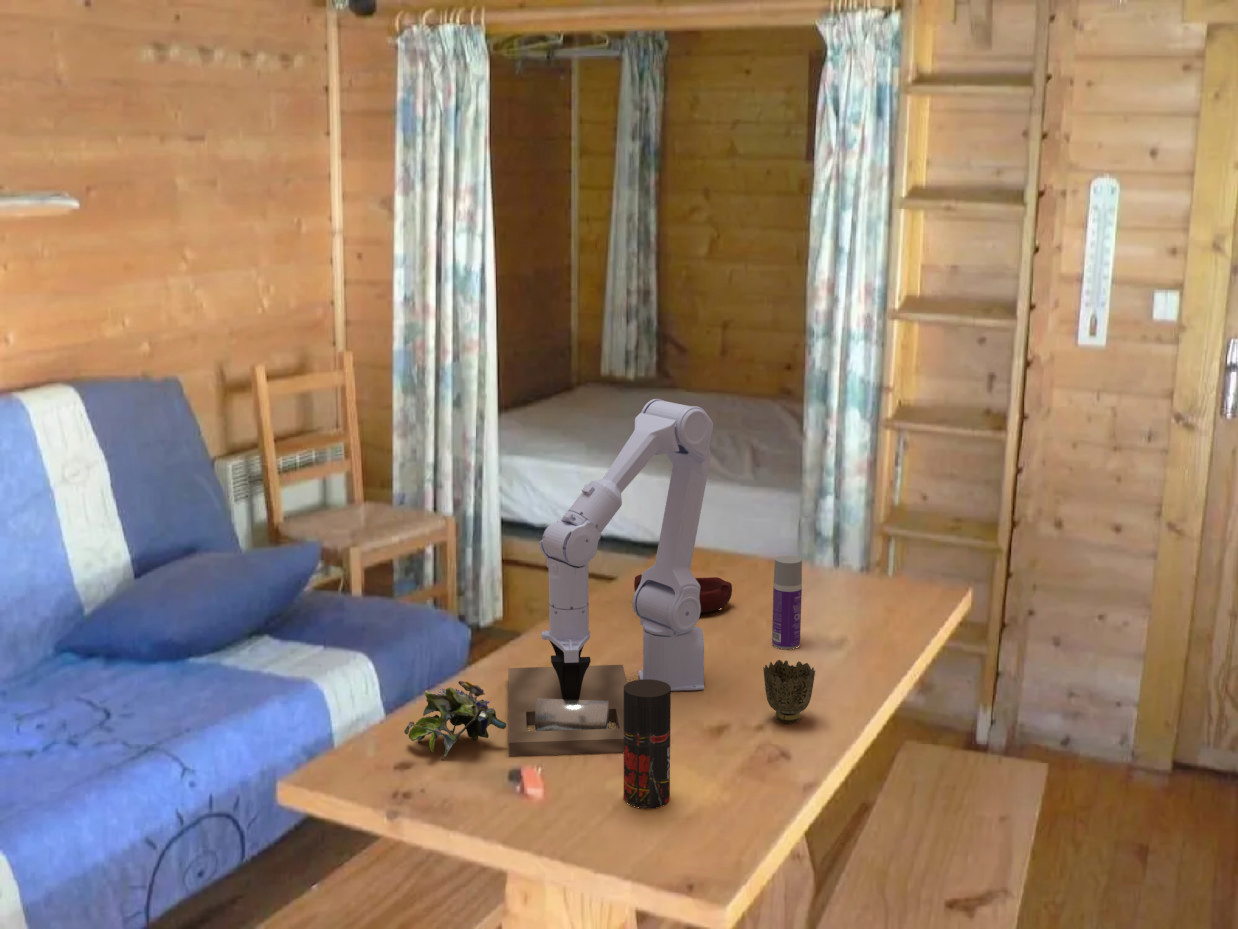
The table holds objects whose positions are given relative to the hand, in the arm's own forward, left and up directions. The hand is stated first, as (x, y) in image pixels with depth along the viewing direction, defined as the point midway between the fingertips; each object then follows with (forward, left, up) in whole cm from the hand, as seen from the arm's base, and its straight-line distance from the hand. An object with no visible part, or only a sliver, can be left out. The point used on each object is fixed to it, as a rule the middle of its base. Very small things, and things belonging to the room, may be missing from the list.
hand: (569, 692), depth 201 cm
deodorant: (-9, +28, -4) cm, 29 cm away
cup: (-32, +5, -4) cm, 32 cm away
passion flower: (+16, +11, -4) cm, 20 cm away
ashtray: (-21, -47, -4) cm, 51 cm away
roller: (0, +7, -1) cm, 7 cm away
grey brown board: (0, 0, -3) cm, 3 cm away
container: (-38, -26, -4) cm, 46 cm away
